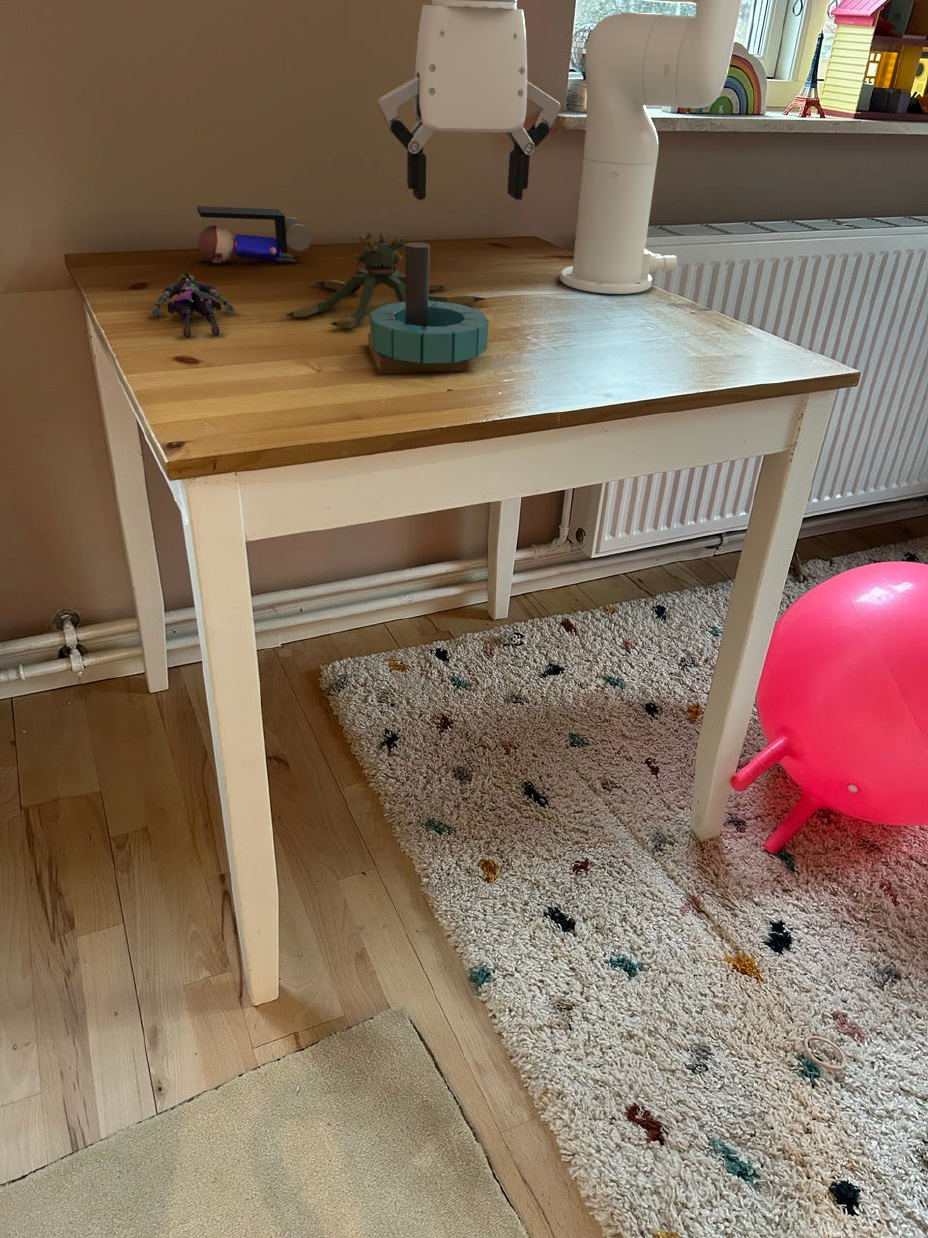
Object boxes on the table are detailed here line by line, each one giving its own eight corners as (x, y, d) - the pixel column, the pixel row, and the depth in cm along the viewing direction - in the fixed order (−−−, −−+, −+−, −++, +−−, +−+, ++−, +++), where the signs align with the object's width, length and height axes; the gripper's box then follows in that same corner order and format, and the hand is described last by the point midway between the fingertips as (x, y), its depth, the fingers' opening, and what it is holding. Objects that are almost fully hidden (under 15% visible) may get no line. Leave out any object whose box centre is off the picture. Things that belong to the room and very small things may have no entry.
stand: (449, 344, 105) (452, 235, 99) (467, 371, 98) (472, 254, 92) (368, 347, 104) (366, 235, 97) (380, 374, 96) (379, 255, 90)
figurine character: (301, 264, 140) (195, 255, 135) (304, 209, 136) (195, 198, 131) (310, 275, 135) (200, 266, 129) (313, 218, 131) (201, 207, 125)
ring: (473, 327, 106) (475, 300, 104) (495, 362, 96) (497, 332, 95) (366, 329, 104) (365, 301, 102) (377, 364, 94) (377, 334, 93)
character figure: (245, 337, 106) (226, 294, 118) (242, 303, 104) (223, 263, 116) (158, 342, 103) (147, 297, 115) (153, 308, 101) (143, 265, 113)
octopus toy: (285, 332, 107) (280, 249, 102) (283, 286, 124) (279, 213, 119) (503, 330, 111) (508, 251, 106) (473, 286, 127) (476, 216, 123)
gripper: (555, -9, 89) (541, 190, 98) (371, -17, 85) (374, 190, 95) (581, -8, 83) (563, 204, 92) (384, -17, 79) (385, 204, 89)
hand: (467, 197), depth 93 cm, fingers open, 9 cm apart
